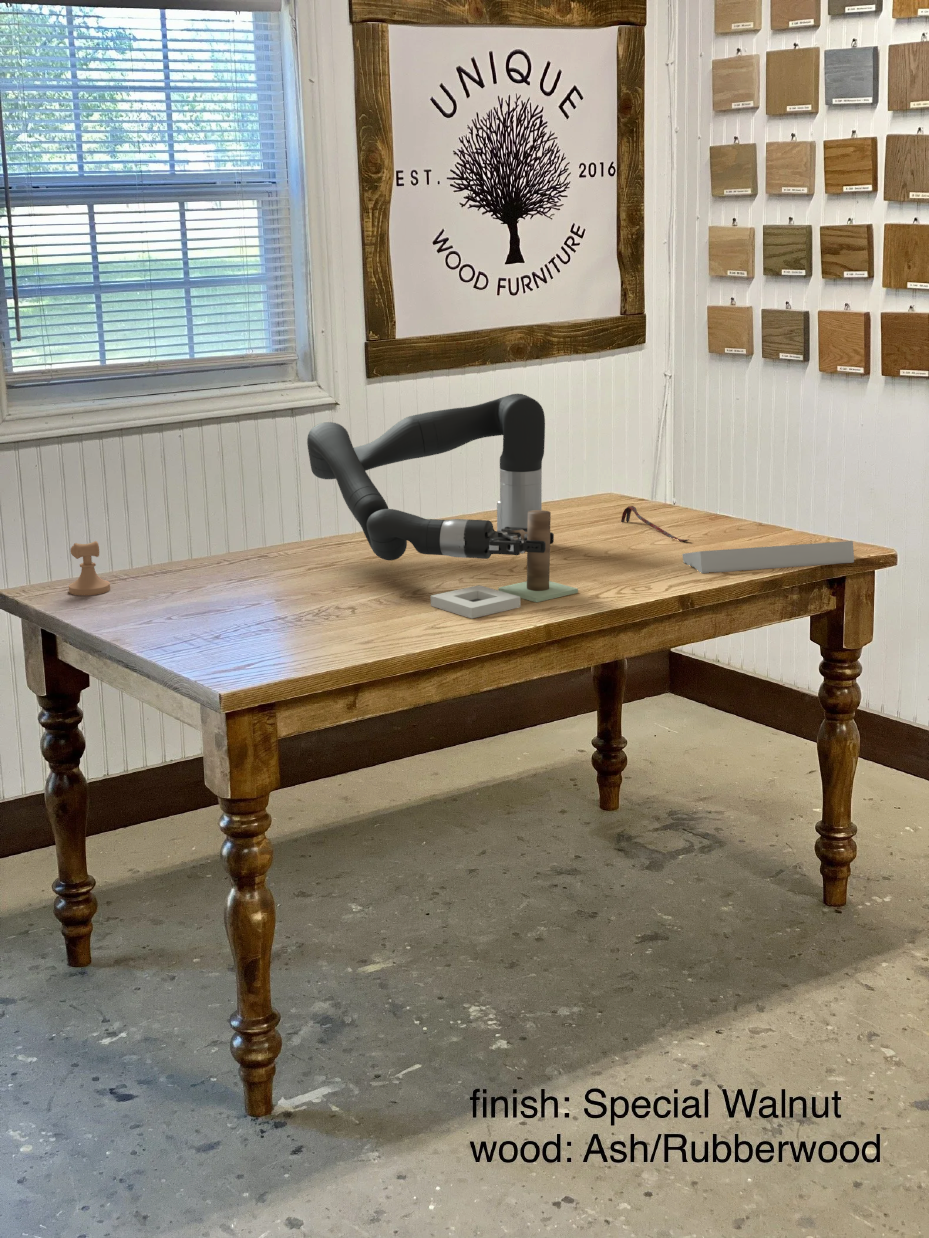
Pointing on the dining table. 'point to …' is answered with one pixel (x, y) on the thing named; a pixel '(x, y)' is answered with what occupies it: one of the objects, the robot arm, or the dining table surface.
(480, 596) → the hole plate
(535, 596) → the pad
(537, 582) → the walnut post
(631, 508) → the crowbar
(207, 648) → the dining table surface
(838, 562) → the decorative molding
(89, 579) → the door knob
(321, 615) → the dining table surface
